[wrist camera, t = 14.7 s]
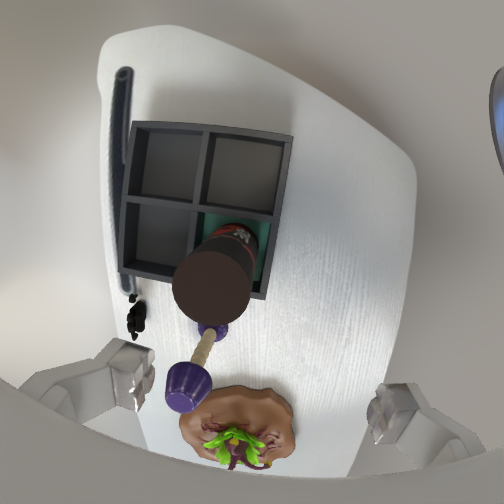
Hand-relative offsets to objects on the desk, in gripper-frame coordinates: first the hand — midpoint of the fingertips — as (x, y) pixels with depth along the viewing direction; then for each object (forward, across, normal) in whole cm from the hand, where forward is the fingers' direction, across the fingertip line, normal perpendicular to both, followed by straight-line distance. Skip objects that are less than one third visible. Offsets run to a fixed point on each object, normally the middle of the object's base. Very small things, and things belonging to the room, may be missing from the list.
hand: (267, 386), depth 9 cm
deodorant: (+27, +4, +2) cm, 27 cm away
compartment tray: (+28, +9, -2) cm, 29 cm away
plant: (+28, 0, +34) cm, 43 cm away
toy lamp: (+28, +6, +14) cm, 31 cm away
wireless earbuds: (+28, +16, +14) cm, 35 cm away
